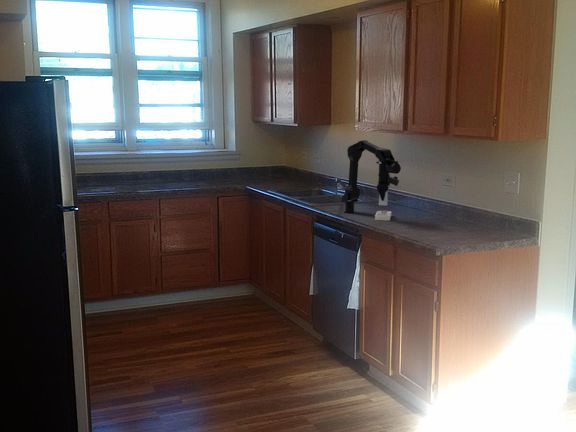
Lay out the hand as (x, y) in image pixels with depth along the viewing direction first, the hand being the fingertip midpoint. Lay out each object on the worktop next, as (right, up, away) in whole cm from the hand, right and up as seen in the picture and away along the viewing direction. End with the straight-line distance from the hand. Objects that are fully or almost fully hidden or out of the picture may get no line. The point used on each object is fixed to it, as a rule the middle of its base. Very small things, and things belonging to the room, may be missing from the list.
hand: (383, 200), depth 360 cm
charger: (0, -2, 0) cm, 2 cm away
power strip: (+1, -10, +6) cm, 11 cm away
